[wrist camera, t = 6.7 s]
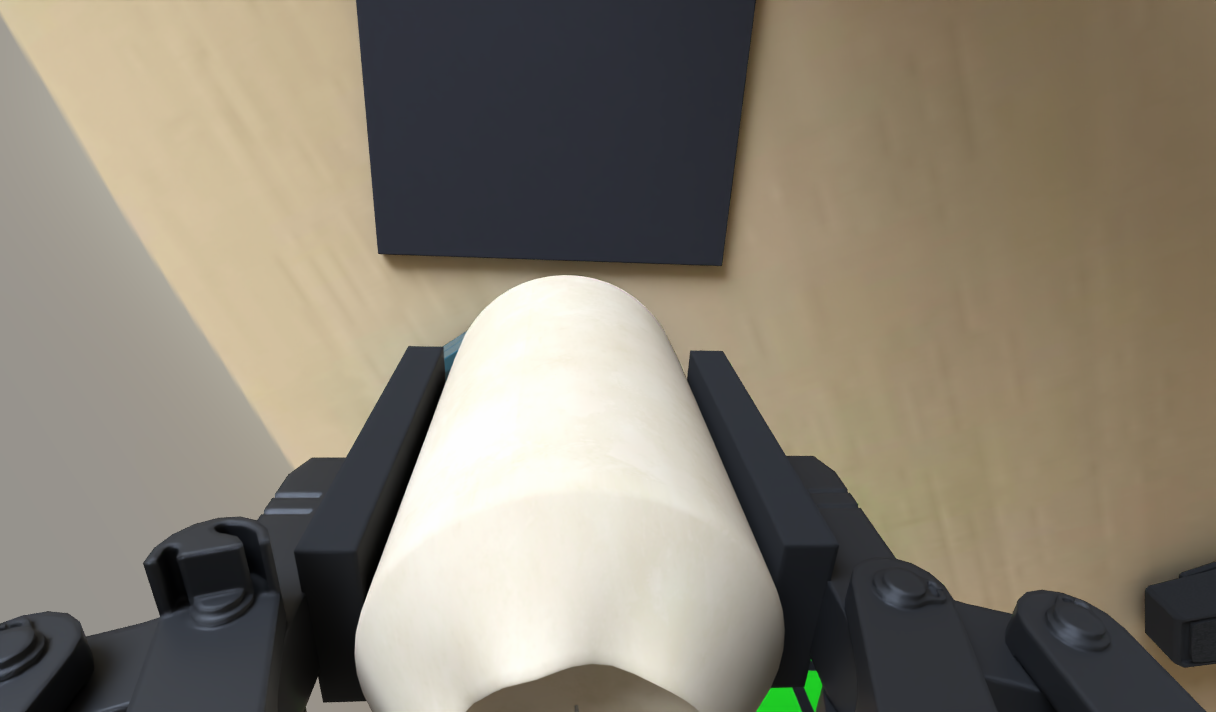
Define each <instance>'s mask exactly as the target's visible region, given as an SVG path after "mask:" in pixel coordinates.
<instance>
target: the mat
mask: <svg viewBox="0 0 1216 712" xmlns="http://www.w3.org/2000/svg"><path fill="white" fill-rule="evenodd" d="M755 3H756V0H356V4H357V16H358V27H359V39H360V50H361V62H362V73H363V85H364V96H365V108H366V119H367V131H368V142H369V154H370V165H371V177H372V188H373V200H374V211H375V223H376V234H377V245H378V254H391V255H420V256H449V257H478V258H507V259H536V260H565V261H594V262H623V263H652V264H681V265H710V266H722V261H723V253H724V245H725V237H726V229H727V221H728V214H729V206H730V198H731V190H732V182H733V175H734V167H735V159H736V151H737V143H738V136H739V128H740V120H741V112H742V104H743V97H744V89H745V81H746V73H747V65H748V58H749V50H750V42H751V34H752V26H753V19H754V11H755Z"/></svg>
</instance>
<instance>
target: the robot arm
mask: <svg viewBox="0 0 1216 712" xmlns="http://www.w3.org/2000/svg"><path fill="white" fill-rule="evenodd" d="M687 381H688V383H689V386H690V388H691V390H692V393H693V395H694V397H695V400H696V402H697V404H698V407H699V409H700V411H701V414H702V416H703V418H704V421H705V423H706V425H707V428H708V430H709V432H710V435H711V437H712V439H713V442H714V444H715V446H716V449H717V451H718V453H719V456H720V458H721V460H722V463H723V465H724V467H725V470H726V472H727V474H728V477H729V479H730V481H731V484H732V486H733V488H734V491H735V493H736V495H737V498H738V500H739V502H740V505H741V507H742V509H743V512H744V514H745V516H746V519H747V521H748V523H749V526H750V528H751V530H752V533H753V535H754V537H755V540H756V542H757V544H758V547H759V549H760V551H761V554H762V556H763V558H764V561H765V563H766V565H767V568H768V570H769V573H770V575H771V577H772V580H773V582H774V584H775V587H776V589H777V592H778V596H779V599H780V603H781V606H782V609H783V618H784V627H785V634H784V647H783V653H782V657H781V661H780V665H779V669H778V672H777V674H776V676H775V679H774V681H773V683H772V686H771V688H789V687H805V682H806V678H807V674H808V670H809V666H810V662H811V660H812V662H813V664H814V666H815V669H816V671H817V673H818V676H819V678H820V680H821V683H822V689H821V692H820V696H819V700H818V704H817V708H816V711H815V712H1206V711H1205V710H1204V709H1203V708H1202V707H1201V706H1200V705H1199V704H1198V703H1197V702H1196V701H1195V700H1194V699H1193V698H1192V697H1191V696H1190V694H1189V693H1188V692H1187V691H1186V690H1185V689H1184V688H1183V687H1182V686H1181V685H1180V684H1179V683H1178V682H1177V681H1176V680H1175V679H1174V678H1173V677H1172V676H1171V675H1170V674H1169V673H1168V672H1167V671H1166V670H1165V669H1164V668H1163V667H1162V666H1161V665H1160V664H1159V663H1158V662H1157V661H1156V660H1155V659H1154V658H1153V657H1152V656H1151V655H1150V654H1149V653H1148V652H1147V651H1146V650H1145V649H1144V648H1143V647H1142V646H1141V645H1140V644H1139V643H1138V642H1137V640H1136V639H1135V638H1134V637H1133V636H1132V635H1131V634H1130V633H1129V632H1128V631H1127V630H1126V629H1125V628H1124V627H1122V626H1121V625H1120V624H1119V623H1117V622H1116V621H1115V620H1114V619H1113V618H1111V617H1110V616H1109V615H1108V614H1107V613H1105V612H1103V611H1101V610H1100V609H1098V608H1096V607H1094V606H1093V605H1091V604H1089V603H1087V602H1085V601H1083V600H1081V599H1078V598H1076V597H1072V596H1069V595H1067V594H1064V593H1060V592H1053V591H1047V590H1037V591H1031V592H1026V593H1025V594H1024V595H1023V596H1022V597H1021V598H1020V599H1019V600H1018V601H1017V604H1016V606H1015V609H1014V611H1013V614H1010V613H1006V612H1001V611H997V610H992V609H988V608H983V607H979V606H974V605H970V604H965V603H962V602H959V601H955V600H953V598H952V596H951V595H950V593H949V592H948V590H947V589H946V587H945V586H944V585H943V584H942V583H941V582H940V581H939V580H937V579H936V578H935V577H934V576H933V575H931V574H930V573H929V572H927V571H925V570H923V569H921V568H919V567H918V566H916V565H914V564H912V563H909V562H905V561H902V560H898V559H896V558H895V556H894V555H893V553H892V552H891V551H890V549H889V548H888V546H887V545H886V543H885V542H884V541H883V539H882V538H881V536H880V535H879V534H878V532H877V531H876V529H875V528H874V526H873V525H872V524H871V522H870V521H869V519H868V518H867V516H866V515H865V514H864V512H863V511H862V509H861V508H858V504H857V502H856V501H855V499H854V498H853V497H852V495H851V494H850V493H848V492H847V488H846V487H845V485H844V484H843V482H842V481H841V480H840V478H839V477H838V475H837V474H836V472H835V471H833V470H832V469H831V468H829V467H828V466H827V465H825V464H824V463H822V462H821V461H820V460H818V459H817V458H816V457H814V456H786V455H785V453H784V452H783V450H782V448H781V447H780V445H779V443H778V442H777V440H776V439H775V437H774V435H773V434H772V432H771V430H770V429H769V427H768V425H767V424H766V422H765V420H764V419H763V417H762V415H761V414H760V412H759V410H758V409H757V407H756V405H755V404H754V402H753V400H752V399H751V397H750V395H749V394H748V392H747V390H746V389H745V387H744V385H743V384H742V382H741V381H740V379H739V377H738V376H737V374H736V372H735V371H734V369H733V367H732V366H731V364H730V362H729V361H728V359H727V357H726V356H725V354H724V352H723V351H690V359H689V368H688V377H687ZM445 383H446V379H445V363H444V347H419V346H408V348H407V350H406V352H405V354H404V355H403V357H402V359H401V361H400V362H399V364H398V366H397V368H396V370H395V371H394V373H393V375H392V377H391V379H390V380H389V382H388V384H387V386H386V387H385V389H384V391H383V393H382V395H381V396H380V398H379V400H378V402H377V403H376V405H375V407H374V409H373V411H372V412H371V414H370V416H369V418H368V420H367V421H366V423H365V425H364V427H363V428H362V430H361V432H360V434H359V436H358V437H357V439H356V441H355V443H354V445H353V446H352V448H351V450H350V452H349V453H348V455H347V457H346V458H311V459H309V460H308V461H307V462H305V463H304V464H302V465H301V466H300V467H298V468H297V469H295V470H294V471H293V472H291V473H290V474H288V476H287V477H286V479H285V480H284V482H283V483H282V485H281V486H280V488H279V489H278V491H277V492H276V493H275V498H272V499H271V501H270V502H269V504H268V505H267V507H266V508H265V510H264V514H263V515H261V516H260V517H259V519H258V520H253V519H249V518H244V517H226V518H217V519H212V520H209V521H205V522H201V523H197V524H194V525H192V526H190V527H187V528H185V529H183V530H181V531H179V532H177V533H175V534H172V535H171V536H170V537H168V538H167V539H166V540H164V541H163V542H162V543H160V544H159V545H158V546H156V547H155V548H154V549H153V550H152V552H151V553H150V555H149V556H148V557H147V559H146V560H145V561H144V563H143V564H144V568H145V570H146V574H147V577H148V580H149V583H150V586H151V589H152V592H153V596H154V599H155V602H156V605H157V608H158V611H159V614H160V618H157V619H154V620H150V621H147V622H144V623H140V624H136V625H132V626H128V627H124V628H120V629H116V630H111V631H108V632H103V633H99V634H95V635H91V636H87V637H86V636H85V634H84V631H83V629H82V626H81V623H80V622H79V621H78V620H77V619H75V618H74V617H72V616H71V615H70V614H68V613H59V612H49V611H47V612H42V613H36V614H30V615H23V616H20V617H17V618H14V619H12V620H9V621H6V622H3V623H1V624H0V712H307V711H306V705H307V702H308V700H309V697H310V695H311V692H312V689H313V687H314V684H315V682H316V680H317V677H318V678H319V683H320V689H321V694H322V698H323V702H353V701H366V699H365V697H364V695H363V692H362V689H361V686H360V683H359V679H358V676H357V670H356V662H355V638H356V630H357V626H358V622H359V618H360V614H361V611H362V608H363V605H364V602H365V600H366V597H367V594H368V591H369V589H370V586H371V583H372V581H373V578H374V575H375V572H376V570H377V567H378V564H379V562H380V559H381V556H382V553H383V551H384V548H385V545H386V543H387V540H388V537H389V535H390V532H391V529H392V526H393V524H394V521H395V518H396V516H397V513H398V510H399V508H400V505H401V502H402V499H403V497H404V494H405V491H406V489H407V486H408V483H409V481H410V478H411V475H412V473H413V470H414V467H415V464H416V462H417V459H418V456H419V454H420V451H421V448H422V446H423V443H424V440H425V437H426V435H427V432H428V429H429V427H430V424H431V421H432V419H433V416H434V413H435V410H436V408H437V405H438V402H439V400H440V397H441V394H442V392H443V389H444V386H445Z"/></svg>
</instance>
